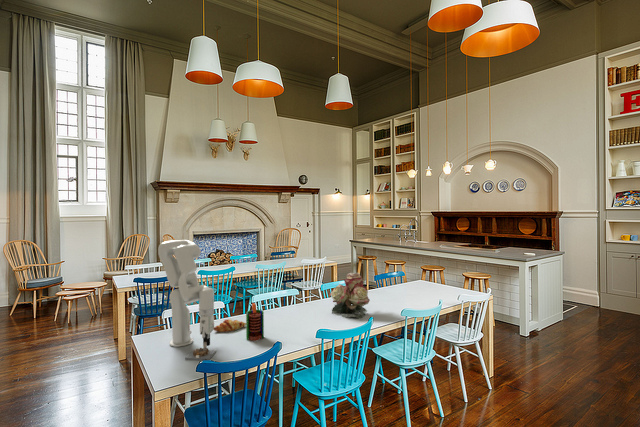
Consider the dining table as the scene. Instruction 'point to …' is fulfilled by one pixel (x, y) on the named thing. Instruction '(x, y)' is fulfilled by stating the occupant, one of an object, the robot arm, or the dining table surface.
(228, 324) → the croissant
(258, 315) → the motor
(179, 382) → the dining table surface
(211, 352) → the base plate
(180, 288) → the robot arm
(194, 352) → the sprocket
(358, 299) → the rose bouquet
